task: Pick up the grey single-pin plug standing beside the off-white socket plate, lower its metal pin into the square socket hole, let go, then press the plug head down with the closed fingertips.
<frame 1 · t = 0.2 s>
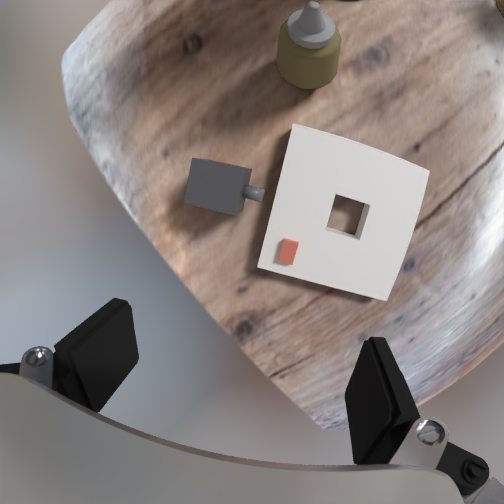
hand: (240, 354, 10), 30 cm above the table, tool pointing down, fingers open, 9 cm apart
socket: (344, 214, 37), on the table
plug: (228, 183, 38), on the table
squeeze bottle: (306, 72, 32), on the table
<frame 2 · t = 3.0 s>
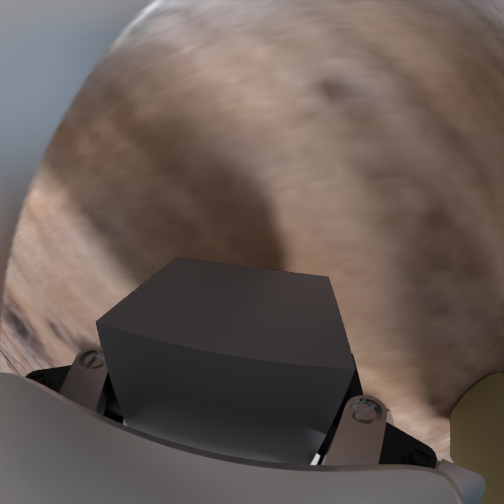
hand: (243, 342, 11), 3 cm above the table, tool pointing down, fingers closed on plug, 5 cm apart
plug: (253, 310, 13), on the table, touching gripper
squeeze bottle: (477, 397, 13), on the table
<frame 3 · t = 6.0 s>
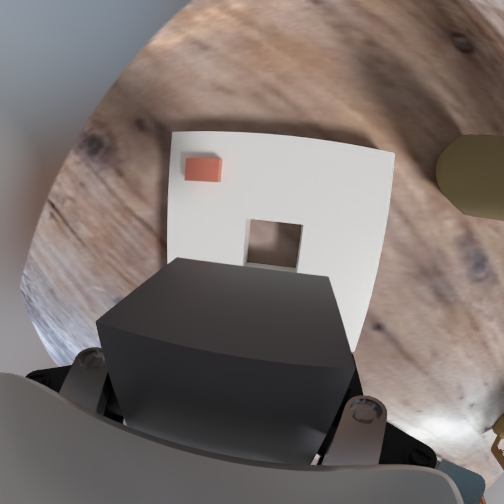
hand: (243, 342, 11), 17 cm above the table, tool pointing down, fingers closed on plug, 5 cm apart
socket: (274, 241, 27), on the table
plug: (253, 310, 13), point 14 cm above the table, touching gripper
squeeze bottle: (454, 174, 22), on the table
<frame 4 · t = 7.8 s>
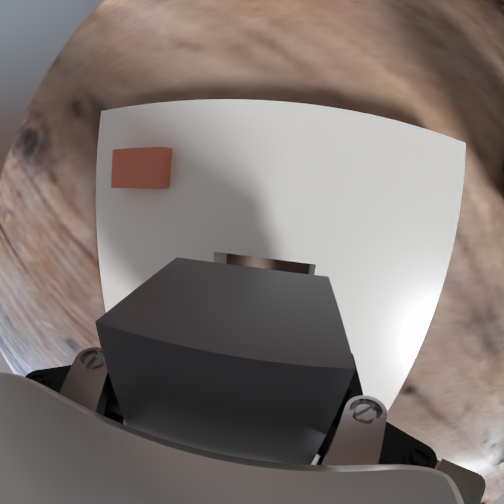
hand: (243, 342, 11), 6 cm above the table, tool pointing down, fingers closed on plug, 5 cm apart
socket: (265, 282, 17), on the table
plug: (253, 310, 13), point 4 cm above the table, touching gripper
when the fingers open (4 cm above the table, at t = 9.4 s): plug drops 1 cm, resting on socket.
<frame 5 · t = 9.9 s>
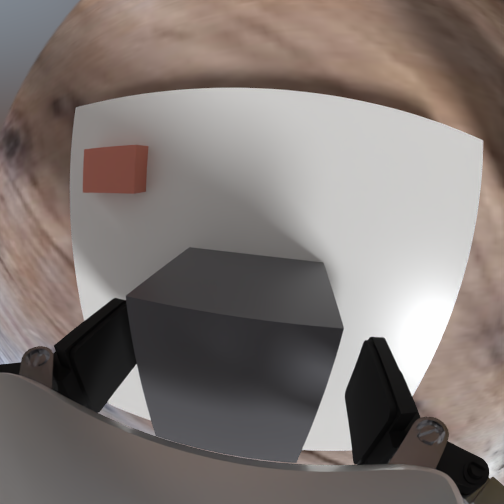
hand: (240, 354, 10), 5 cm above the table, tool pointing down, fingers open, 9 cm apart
socket: (257, 296, 15), on the table
plug: (256, 297, 15), resting on socket
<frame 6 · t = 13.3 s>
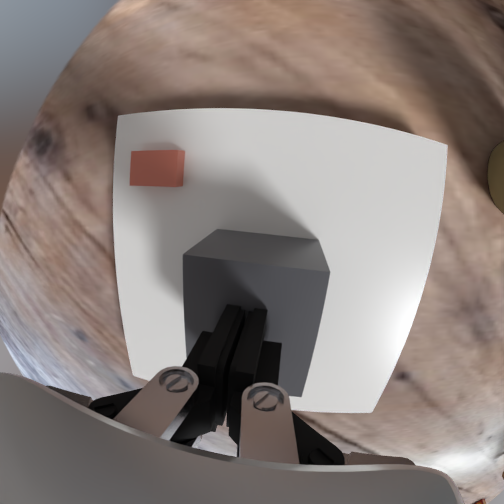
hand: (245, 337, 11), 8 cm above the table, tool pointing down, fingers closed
socket: (267, 271, 19), on the table
plug: (266, 272, 18), resting on socket, touching gripper
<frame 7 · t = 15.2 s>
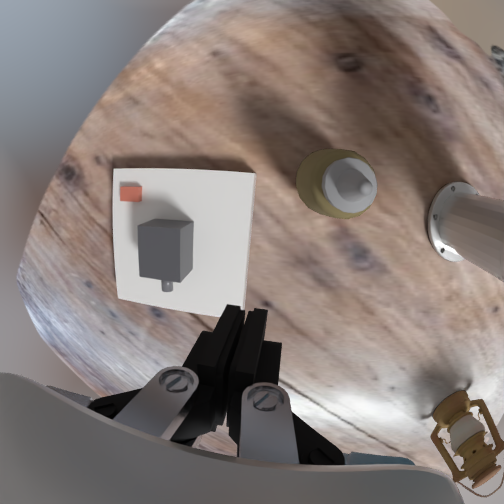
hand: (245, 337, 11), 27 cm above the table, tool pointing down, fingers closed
lantern: (449, 405, 44), on the table
socket: (181, 238, 38), on the table
plug: (180, 239, 38), resting on socket
squeeze bottle: (323, 181, 34), on the table
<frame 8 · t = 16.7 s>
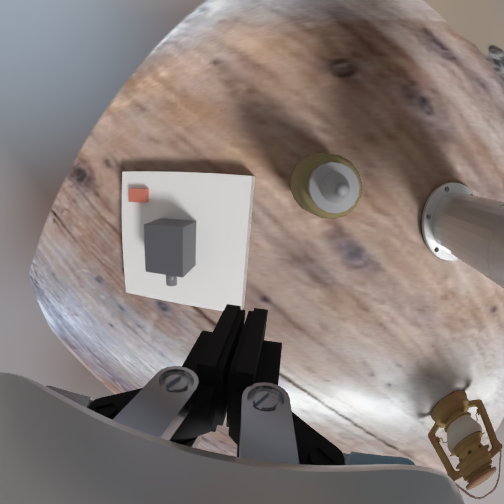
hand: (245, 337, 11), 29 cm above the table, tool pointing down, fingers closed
lantern: (448, 405, 44), on the table
socket: (185, 237, 41), on the table
plug: (184, 237, 41), resting on socket
squeeze bottle: (318, 183, 37), on the table
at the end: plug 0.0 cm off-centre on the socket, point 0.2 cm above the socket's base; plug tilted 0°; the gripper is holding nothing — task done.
